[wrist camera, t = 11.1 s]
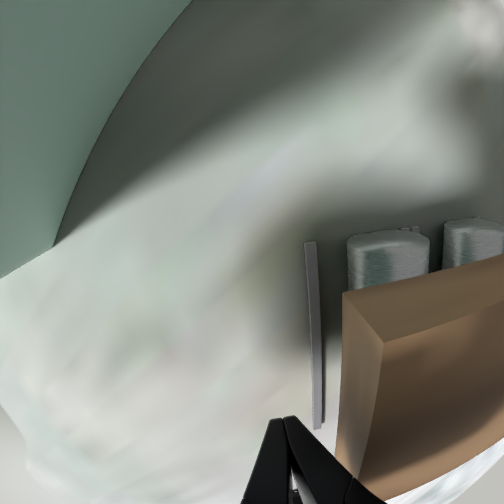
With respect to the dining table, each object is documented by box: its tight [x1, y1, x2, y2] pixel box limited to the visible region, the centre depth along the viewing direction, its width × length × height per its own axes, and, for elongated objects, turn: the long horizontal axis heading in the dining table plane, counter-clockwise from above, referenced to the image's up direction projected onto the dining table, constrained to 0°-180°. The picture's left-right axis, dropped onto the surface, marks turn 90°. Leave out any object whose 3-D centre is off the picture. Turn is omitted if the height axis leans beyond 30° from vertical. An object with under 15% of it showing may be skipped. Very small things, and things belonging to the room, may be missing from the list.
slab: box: [335, 254, 504, 501], centre depth 8 cm, size 9×10×2 cm
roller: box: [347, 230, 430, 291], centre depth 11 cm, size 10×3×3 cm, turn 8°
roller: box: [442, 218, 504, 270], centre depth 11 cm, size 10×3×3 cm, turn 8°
